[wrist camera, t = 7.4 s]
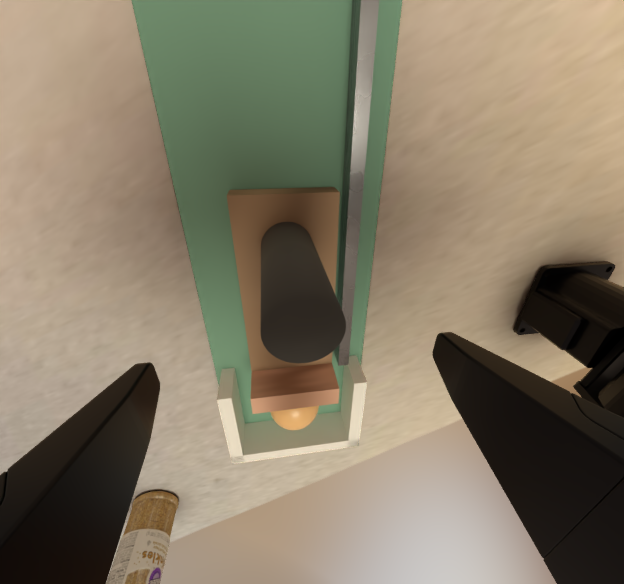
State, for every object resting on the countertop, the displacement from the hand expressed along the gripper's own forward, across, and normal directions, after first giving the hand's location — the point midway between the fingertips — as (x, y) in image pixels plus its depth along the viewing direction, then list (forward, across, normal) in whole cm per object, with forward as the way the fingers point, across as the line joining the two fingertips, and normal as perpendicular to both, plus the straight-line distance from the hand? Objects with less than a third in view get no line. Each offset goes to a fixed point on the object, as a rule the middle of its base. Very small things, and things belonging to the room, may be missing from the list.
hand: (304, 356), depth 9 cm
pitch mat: (+11, 0, +3) cm, 12 cm away
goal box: (+11, 0, +15) cm, 18 cm away
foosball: (+9, 0, +13) cm, 16 cm away
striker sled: (+11, 0, +4) cm, 12 cm away
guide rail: (+11, -4, -2) cm, 12 cm away
